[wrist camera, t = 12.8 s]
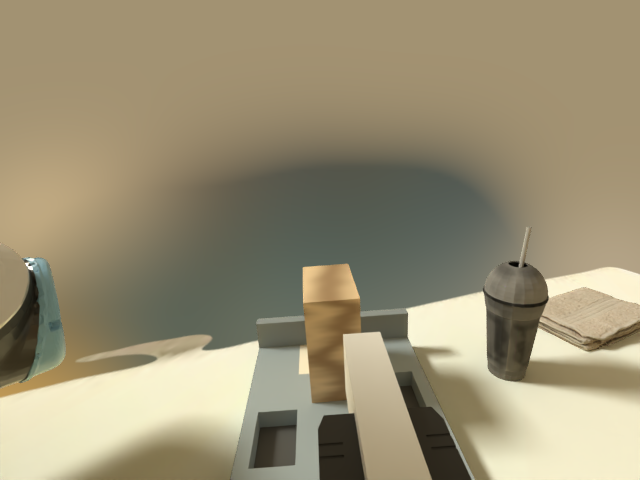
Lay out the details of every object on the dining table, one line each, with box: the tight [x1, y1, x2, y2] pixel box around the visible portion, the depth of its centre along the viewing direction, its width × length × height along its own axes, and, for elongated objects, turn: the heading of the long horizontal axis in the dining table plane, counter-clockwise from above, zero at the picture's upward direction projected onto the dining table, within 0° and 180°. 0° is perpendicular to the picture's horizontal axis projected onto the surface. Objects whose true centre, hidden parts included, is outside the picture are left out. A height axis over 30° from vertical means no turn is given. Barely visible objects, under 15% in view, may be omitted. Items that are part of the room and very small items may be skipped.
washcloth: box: [538, 287, 640, 351], centre depth 58 cm, size 12×18×3 cm, turn 115°
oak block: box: [303, 264, 361, 403], centre depth 44 cm, size 6×10×13 cm, turn 3°
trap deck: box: [230, 308, 475, 480], centre depth 38 cm, size 22×32×6 cm
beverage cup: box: [483, 227, 549, 381], centre depth 45 cm, size 7×7×20 cm
